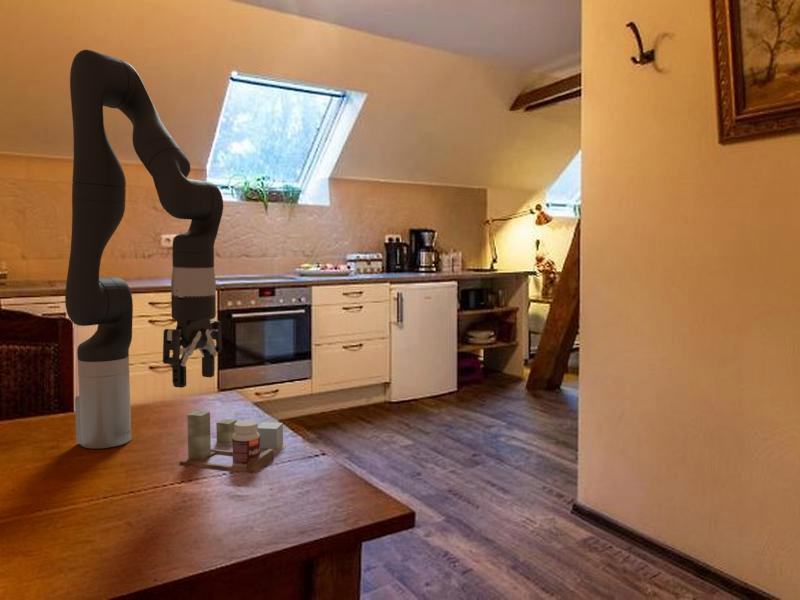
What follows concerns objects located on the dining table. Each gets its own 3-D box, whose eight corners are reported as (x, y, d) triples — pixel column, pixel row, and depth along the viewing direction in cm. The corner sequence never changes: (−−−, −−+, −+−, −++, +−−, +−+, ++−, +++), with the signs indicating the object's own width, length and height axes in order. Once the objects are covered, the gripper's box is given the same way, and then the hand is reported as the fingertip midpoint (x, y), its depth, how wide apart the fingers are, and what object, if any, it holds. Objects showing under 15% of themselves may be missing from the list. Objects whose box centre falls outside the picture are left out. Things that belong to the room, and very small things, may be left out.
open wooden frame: (179, 467, 107) (178, 418, 106) (204, 454, 114) (203, 407, 114) (252, 476, 103) (252, 425, 102) (273, 461, 110) (273, 413, 110)
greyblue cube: (256, 448, 116) (256, 428, 115) (263, 441, 120) (263, 422, 119) (276, 449, 115) (276, 428, 115) (283, 442, 119) (282, 422, 119)
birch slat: (214, 447, 119) (213, 423, 118) (224, 442, 122) (223, 418, 122) (281, 455, 115) (280, 429, 114) (289, 449, 118) (289, 424, 118)
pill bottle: (253, 474, 105) (252, 427, 104) (228, 472, 106) (227, 425, 105) (264, 465, 110) (264, 420, 109) (240, 463, 110) (239, 418, 110)
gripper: (199, 289, 116) (199, 372, 117) (149, 294, 102) (150, 388, 104) (233, 290, 114) (233, 375, 115) (187, 296, 100) (188, 392, 101)
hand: (194, 381), depth 109 cm, fingers open, 8 cm apart
